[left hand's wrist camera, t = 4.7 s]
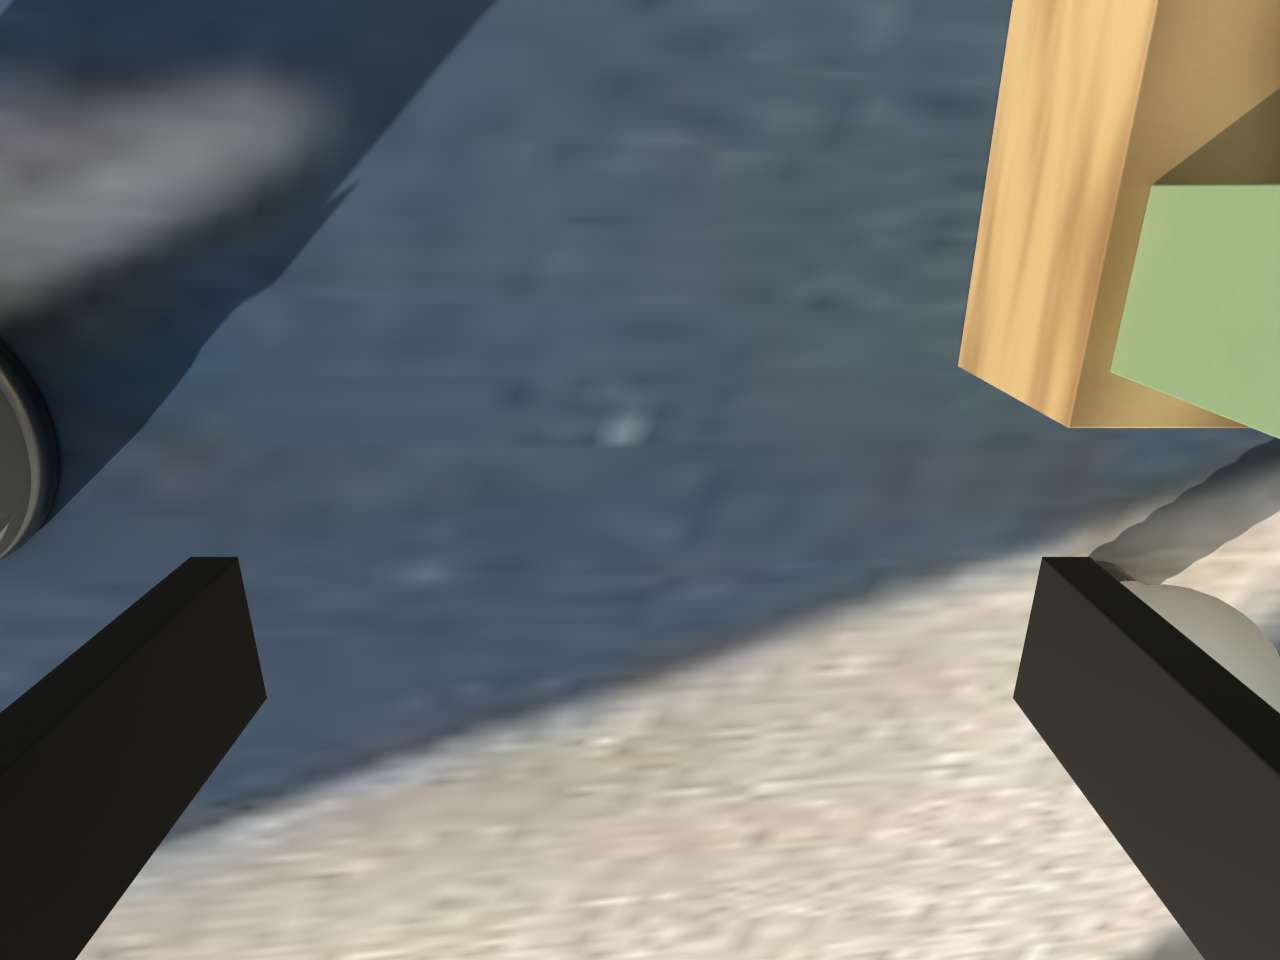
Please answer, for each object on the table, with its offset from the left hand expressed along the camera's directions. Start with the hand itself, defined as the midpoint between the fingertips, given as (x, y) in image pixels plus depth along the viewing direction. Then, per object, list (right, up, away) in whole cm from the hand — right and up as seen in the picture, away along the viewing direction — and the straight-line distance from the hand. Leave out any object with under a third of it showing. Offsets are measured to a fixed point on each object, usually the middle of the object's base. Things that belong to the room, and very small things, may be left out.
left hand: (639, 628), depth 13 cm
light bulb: (+24, -3, +28) cm, 37 cm away
